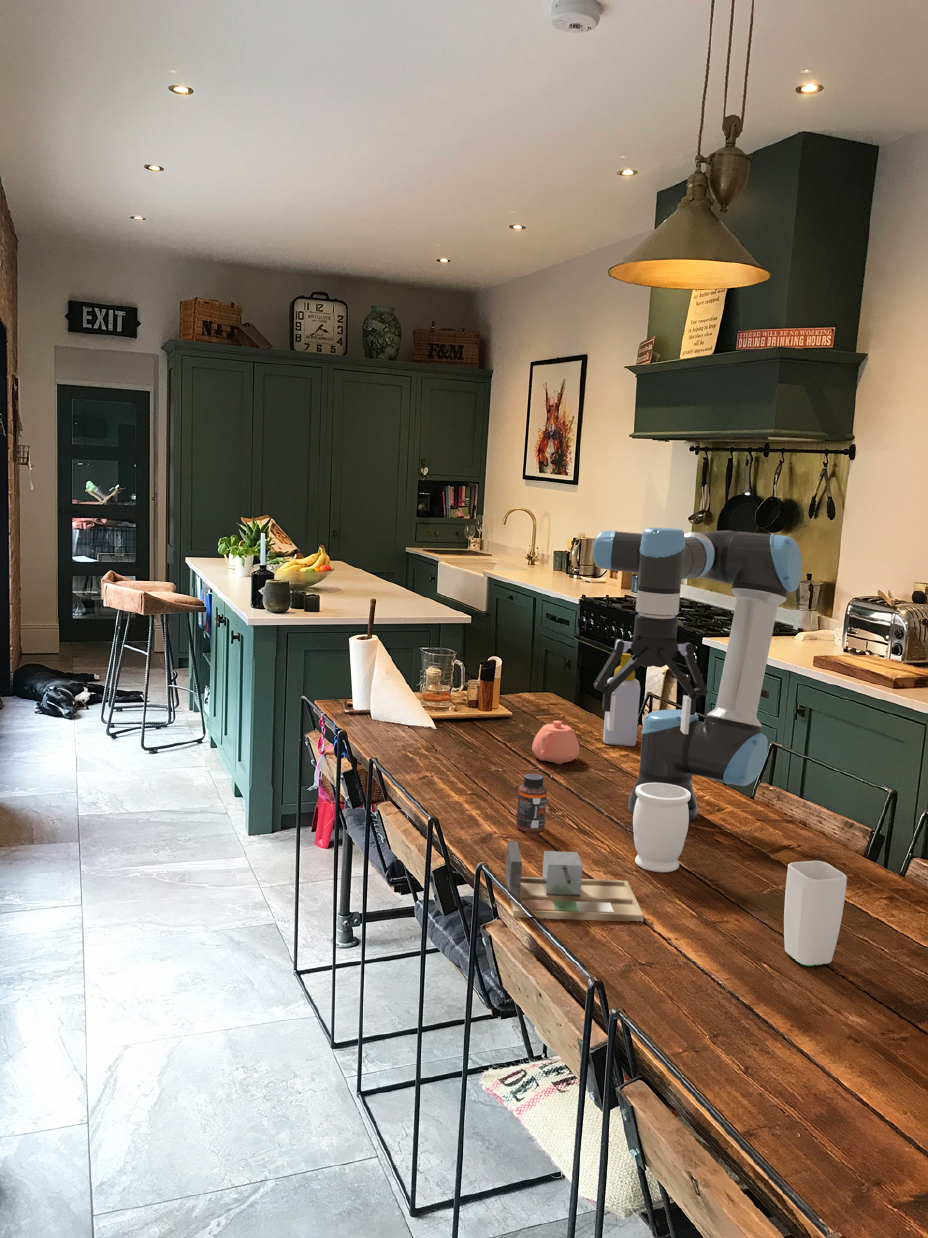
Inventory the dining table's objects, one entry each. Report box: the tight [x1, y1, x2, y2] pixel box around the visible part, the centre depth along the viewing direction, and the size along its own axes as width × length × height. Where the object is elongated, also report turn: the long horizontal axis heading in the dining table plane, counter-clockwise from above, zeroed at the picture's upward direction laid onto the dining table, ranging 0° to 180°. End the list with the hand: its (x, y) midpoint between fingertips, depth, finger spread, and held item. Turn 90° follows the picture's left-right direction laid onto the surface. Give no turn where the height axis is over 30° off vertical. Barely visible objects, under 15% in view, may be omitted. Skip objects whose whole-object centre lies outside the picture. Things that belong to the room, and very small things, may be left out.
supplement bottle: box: [515, 773, 548, 833], centre depth 208 cm, size 6×6×11 cm
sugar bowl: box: [531, 720, 580, 765], centre depth 257 cm, size 12×14×10 cm
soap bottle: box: [602, 652, 641, 747], centre depth 277 cm, size 9×9×25 cm
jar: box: [632, 783, 691, 873], centre depth 191 cm, size 11×10×15 cm
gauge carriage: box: [541, 850, 583, 897], centre depth 172 cm, size 6×11×6 cm, turn 2°
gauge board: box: [504, 841, 645, 923], centre depth 173 cm, size 22×14×8 cm, turn 92°
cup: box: [783, 860, 848, 967], centre depth 157 cm, size 7×7×15 cm
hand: (647, 730), depth 180 cm, fingers open, 13 cm apart
